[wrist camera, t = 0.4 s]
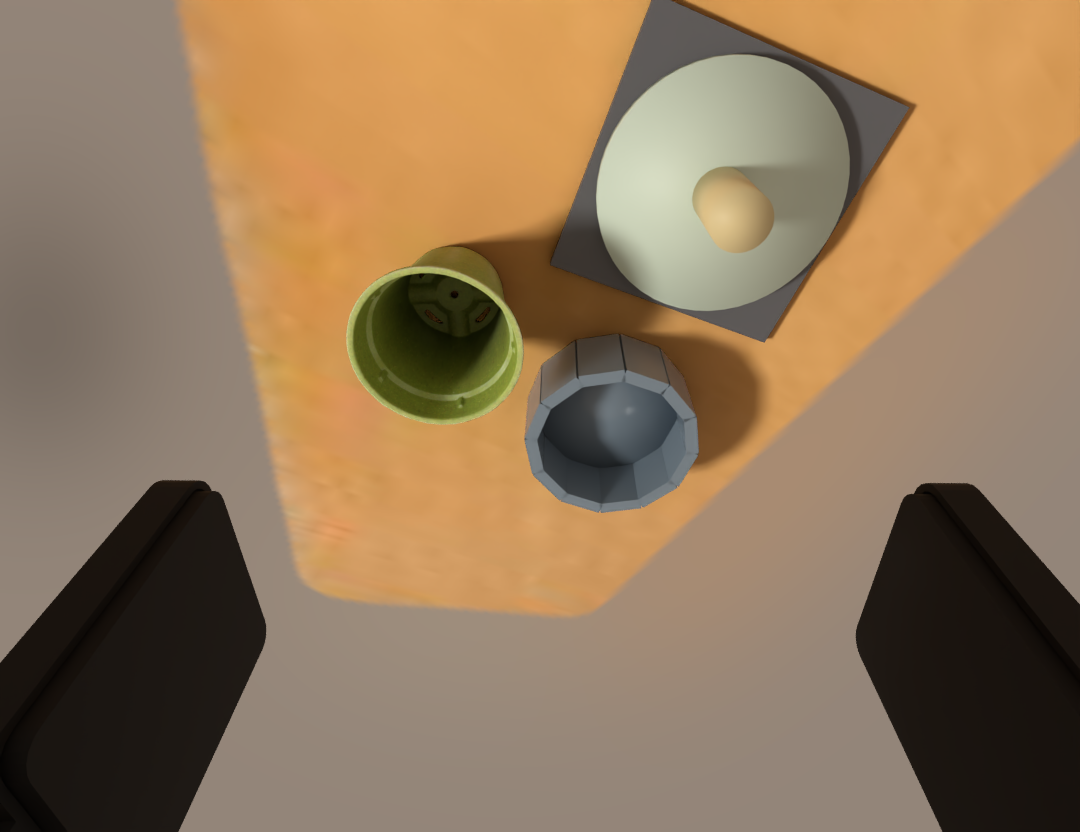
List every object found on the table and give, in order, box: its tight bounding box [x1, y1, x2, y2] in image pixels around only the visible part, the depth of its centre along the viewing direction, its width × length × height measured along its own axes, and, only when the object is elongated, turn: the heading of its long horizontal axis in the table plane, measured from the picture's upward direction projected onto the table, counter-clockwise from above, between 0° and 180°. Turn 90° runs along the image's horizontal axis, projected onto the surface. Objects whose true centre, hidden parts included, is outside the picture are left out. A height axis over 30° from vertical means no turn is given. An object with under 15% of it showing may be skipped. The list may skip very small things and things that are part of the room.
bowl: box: [525, 334, 699, 513], centre depth 44 cm, size 11×11×5 cm
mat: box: [550, 0, 909, 342], centre depth 38 cm, size 15×15×1 cm
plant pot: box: [346, 247, 524, 425], centre depth 38 cm, size 9×9×9 cm
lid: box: [596, 54, 850, 311], centre depth 35 cm, size 14×14×6 cm
